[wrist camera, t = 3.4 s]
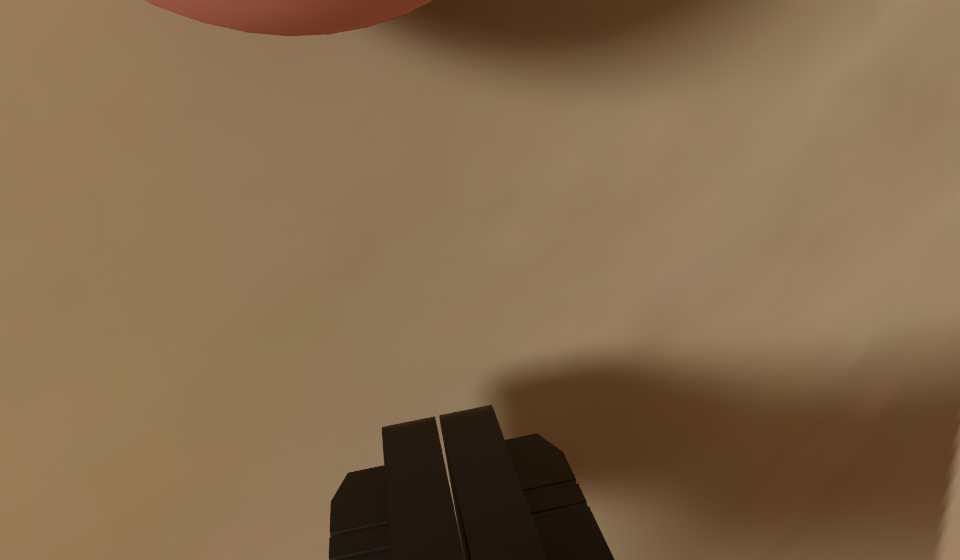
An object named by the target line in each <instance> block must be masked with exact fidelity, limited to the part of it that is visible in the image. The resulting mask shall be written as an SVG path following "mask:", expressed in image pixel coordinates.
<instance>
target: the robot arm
mask: <svg viewBox="0 0 960 560" xmlns="http://www.w3.org/2000/svg"><path fill="white" fill-rule="evenodd" d="M439 417H440V424H441V430H442V436H443V442H444V447H445V453H446V459H447V465H448V471H449V476H450V482H451V488H452V494H453V500H454V505H455V511H456V516H455V511H454V506H453V501H452V497H451V492H450V487H449V482H448V477H447V473H446V468H445V463H444V458H443V453H442V449H441V444H440V439H439V434H438V429H437V425H436V420H435V417H430V418H425V419H420V420H415V421H410V422H405V423H400V424H395V425H390V426H385V427H382V439H383V452H384V466H379V467H374V468H369V469H364V470H359V471H355V472H350V473H348V474H347V475H346V477H345V479H344V480H343V482H342V484H341V485H340V487H339V489H338V491H337V492H336V494H335V496H334V497H333V499H332V501H331V514H330V536H331V538H330V541H329V560H614V558H613V556H612V553H611V551H610V549H609V547H608V545H607V543H606V541H605V539H604V537H603V535H602V533H601V531H600V528H599V526H598V524H597V522H596V520H595V518H594V516H593V514H592V512H591V510H590V508H589V507H588V506H587V503H586V499H585V497H584V495H583V493H582V491H581V489H580V487H579V485H578V484H577V483H576V478H575V476H574V474H573V472H572V470H571V468H570V466H569V464H568V462H567V460H566V458H565V455H564V453H563V452H562V451H560V450H559V449H558V448H556V447H555V446H554V445H552V444H551V443H550V442H548V441H547V440H545V439H544V438H543V437H541V436H540V435H539V434H533V435H528V436H523V437H518V438H513V439H508V440H504V437H503V434H502V431H501V429H500V426H499V423H498V420H497V418H496V415H495V412H494V409H493V407H492V405H488V406H483V407H478V408H473V409H469V410H464V411H459V412H454V413H449V414H444V415H439ZM456 517H457V521H456ZM457 522H458V525H457ZM458 528H459V530H458ZM459 533H460V535H459ZM460 538H461V540H460ZM461 543H462V545H461ZM462 548H463V549H462ZM463 553H464V554H463ZM464 558H465V559H464Z"/></svg>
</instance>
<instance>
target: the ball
mask: <svg viewBox="0 0 960 560" xmlns="http://www.w3.org/2000/svg"><path fill="white" fill-rule="evenodd" d="M145 1H147V2H149V3H151V4H153V5H155V6H157V7H160V8H163V9H166V10H169V11H171V12H174V13H177V14H180V15H183V16H186V17H188V18H191V19H194V20H197V21H200V22H204V23H208V24H212V25H217V26H221V27H226V28H230V29H235V30H239V31H244V32H249V33H260V34H272V35H283V36H301V35H323V34H333V33H338V32H344V31H349V30H355V29H360V28H365V27H369V26H372V25H375V24H378V23H381V22H384V21H387V20H390V19H393V18H396V17H399V16H402V15H405V14H407V13H409V12H411V11H413V10H415V9H417V8H419V7H421V6H423V5H425V4H427V3H429V2H431V1H433V0H145Z"/></svg>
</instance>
